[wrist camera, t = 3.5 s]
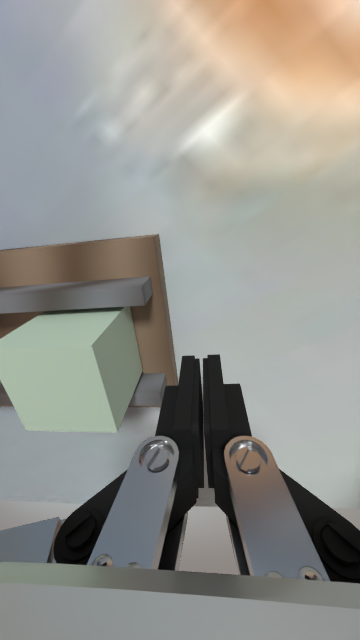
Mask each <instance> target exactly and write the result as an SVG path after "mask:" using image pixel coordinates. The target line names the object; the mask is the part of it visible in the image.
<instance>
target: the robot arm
mask: <svg viewBox="0 0 360 640" xmlns="http://www.w3.org/2000/svg"><path fill="white" fill-rule="evenodd" d="M203 403H204V436H203ZM204 437H205V449H206V462H207V474H208V486H209V488H214V490H215V503H216V504H217V505H218V506H219V507H220V509H221V510H222V511H223V512H224V513H225V514H226V516H227V523H228V528H229V533H230V538H231V542H232V547H233V552H234V556H235V561H236V566H237V571H238V575H231V574H217V573H202V572H187V571H178V570H179V564H180V558H181V552H182V547H183V541H184V535H185V529H186V523H187V516H188V511H189V510H190V509H191V507H192V506H193V505H194V504H195V503H196V498H198V488H204ZM0 640H360V531H359V530H358V529H357V528H356V527H355V526H354V525H353V524H352V523H350V522H349V521H348V520H346V519H345V518H344V517H342V516H341V515H340V514H338V513H337V512H336V511H334V510H333V509H332V508H330V507H329V506H328V505H326V504H325V503H324V502H322V501H321V500H320V499H318V498H317V497H316V496H314V495H313V494H312V493H310V492H309V491H308V490H306V489H305V488H304V487H302V486H301V485H300V484H298V483H297V482H296V481H294V480H293V479H292V478H290V477H289V476H288V475H286V474H285V473H284V472H282V471H281V470H280V469H279V468H278V466H277V464H276V462H275V460H274V457H273V455H272V453H271V451H270V450H269V448H268V447H267V446H266V445H265V444H264V443H263V442H262V441H260V440H258V439H256V438H254V437H252V435H251V430H250V426H249V422H248V417H247V413H246V408H245V404H244V399H243V395H242V391H241V386H240V384H223V377H222V369H221V361H220V355H208V358H203V399H202V386H201V374H200V361H199V359H195V356H182V362H181V370H180V378H179V385H172V386H166V387H165V391H164V396H163V400H162V405H161V410H160V415H159V420H158V425H157V430H156V435H155V437H151V438H149V439H147V440H145V441H144V442H143V443H142V444H141V445H140V446H139V447H138V449H137V450H136V452H135V454H134V457H133V459H132V461H131V463H130V466H129V468H128V470H126V471H125V472H124V473H123V474H121V475H120V476H119V477H118V478H116V479H115V480H114V481H112V482H111V483H110V484H109V485H107V486H106V487H105V488H103V489H102V490H101V491H100V492H98V493H97V494H96V495H94V496H93V497H92V498H91V499H89V500H88V501H87V502H86V503H84V504H83V505H82V506H80V507H79V508H78V509H77V510H75V511H74V512H73V513H72V514H71V515H70V516H69V517H68V518H67V519H63V520H60V518H59V517H56V518H52V519H48V520H43V521H39V522H36V523H31V524H27V525H22V526H18V527H14V528H10V529H5V530H1V531H0Z"/></svg>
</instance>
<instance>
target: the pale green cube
mask: <svg viewBox="0 0 360 640" xmlns="http://www.w3.org/2000/svg"><path fill="white" fill-rule="evenodd" d="M142 371H143V369H142V364H141V360H140V355H139V350H138V345H137V340H136V335H135V330H134V325H133V320H132V315H131V310H130V306H125V307H107V308H90V309H72V310H55V311H44V312H43V313H41V314H40V315H38V316H36V317H35V318H33V319H32V320H30V321H28V322H27V323H25V324H23V325H22V326H20V327H19V328H17V329H15V330H14V331H12V332H11V333H9V334H7V335H6V336H4V337H3V338H1V339H0V381H1V383H2V384H3V386H4V388H5V390H6V392H7V394H8V396H9V398H10V400H11V402H12V404H13V406H14V408H15V410H16V412H17V413H18V415H19V417H20V419H21V421H22V423H23V425H24V427H25V429H26V431H65V432H113V433H117V432H118V430H119V428H120V425H121V423H122V420H123V418H124V415H125V413H126V410H127V408H128V405H129V403H130V400H131V398H132V396H133V393H134V391H135V388H136V386H137V383H138V381H139V378H140V376H141V373H142Z"/></svg>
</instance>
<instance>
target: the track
mask: <svg viewBox="0 0 360 640" xmlns="http://www.w3.org/2000/svg"><path fill="white" fill-rule="evenodd" d="M125 306H130V310H131V315H132V320H133V325H134V330H135V335H136V340H137V345H138V350H139V355H140V360H141V364H142V369H143V371H142V373H141V376H140V378H139V381H138V383H137V386H136V388H135V391H134V393H133V396H132V398H131V400H130V403H129V405H128V407H161V405H162V400H163V396H164V391H165V387H166V386H172V385H178V378H177V370H176V362H175V355H174V347H173V339H172V332H171V324H170V316H169V309H168V301H167V293H166V285H165V278H164V270H163V262H162V255H161V247H160V239H159V234H157V235H146V236H136V237H126V238H116V239H106V240H96V241H86V242H76V243H66V244H56V245H46V246H36V247H26V248H16V249H6V250H0V339H1V338H3V337H4V336H6V335H7V334H9V333H11V332H12V331H14V330H15V329H17V328H19V327H20V326H22V325H23V324H25V323H27V322H28V321H30V320H32V319H33V318H35V317H36V316H38V315H40V314H41V313H43V312H44V311H55V310H72V309H90V308H107V307H125ZM0 406H13V404H12V402H11V400H10V398H9V396H8V394H7V392H6V390H5V388H4V386H3V384H2V383H1V381H0Z"/></svg>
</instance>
